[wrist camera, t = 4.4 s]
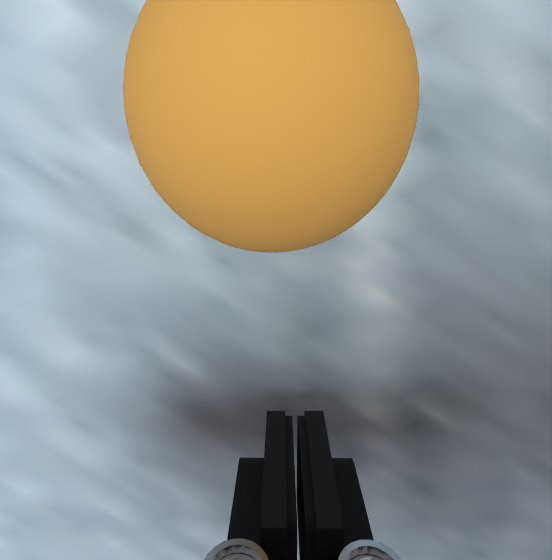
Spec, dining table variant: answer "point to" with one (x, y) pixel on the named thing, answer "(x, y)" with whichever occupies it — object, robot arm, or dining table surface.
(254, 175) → the ball
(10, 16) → the dining table surface
